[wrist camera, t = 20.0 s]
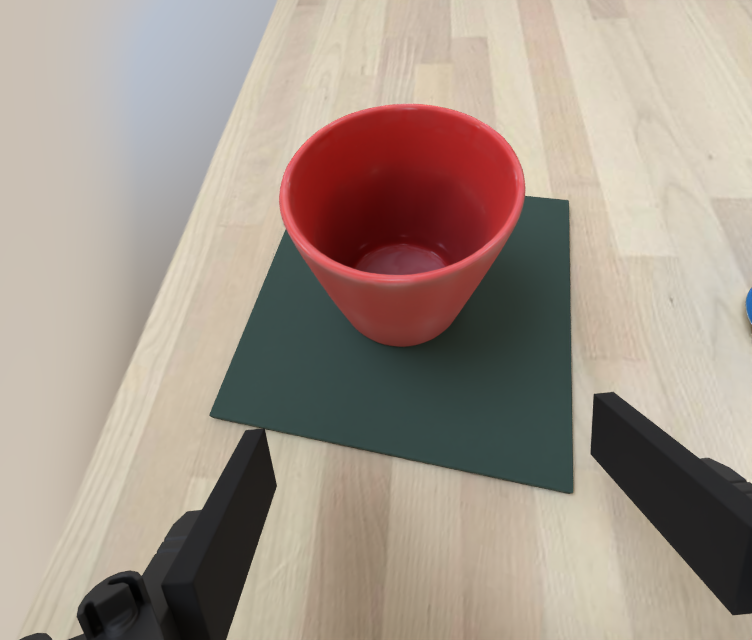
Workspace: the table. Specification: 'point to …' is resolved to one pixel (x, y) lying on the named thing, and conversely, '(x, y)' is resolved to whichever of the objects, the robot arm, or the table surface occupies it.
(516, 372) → the mat
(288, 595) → the table surface
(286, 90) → the table surface
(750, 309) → the beverage can
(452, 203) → the flower pot
